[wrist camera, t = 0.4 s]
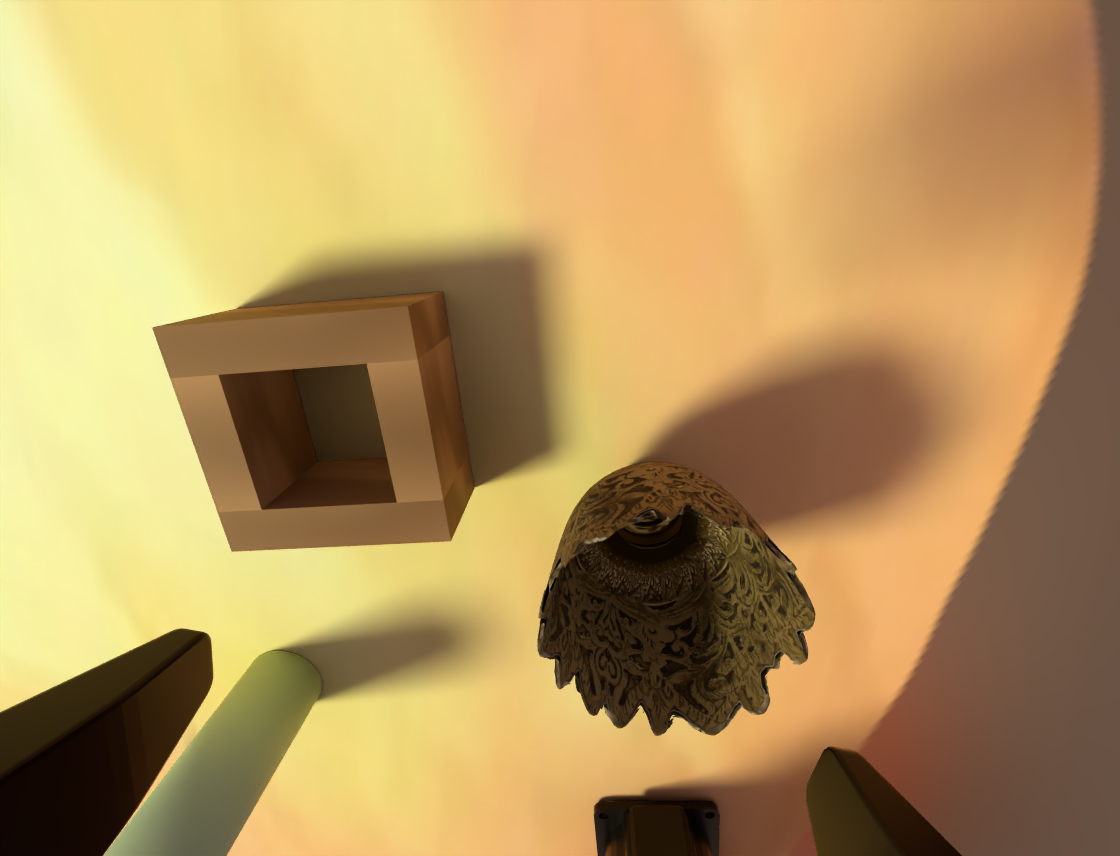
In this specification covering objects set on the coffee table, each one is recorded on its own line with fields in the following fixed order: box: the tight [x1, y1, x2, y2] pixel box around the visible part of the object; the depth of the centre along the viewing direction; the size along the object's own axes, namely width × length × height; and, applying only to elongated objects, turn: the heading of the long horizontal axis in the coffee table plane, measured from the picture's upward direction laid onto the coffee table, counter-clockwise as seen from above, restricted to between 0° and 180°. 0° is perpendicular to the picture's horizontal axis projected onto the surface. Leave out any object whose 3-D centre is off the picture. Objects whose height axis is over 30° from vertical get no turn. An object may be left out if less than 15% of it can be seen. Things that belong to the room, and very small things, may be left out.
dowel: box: [103, 651, 322, 856], centre depth 22 cm, size 4×4×9 cm
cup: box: [537, 462, 815, 736], centre depth 18 cm, size 8×7×8 cm
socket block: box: [153, 291, 474, 552], centre depth 19 cm, size 8×8×4 cm
